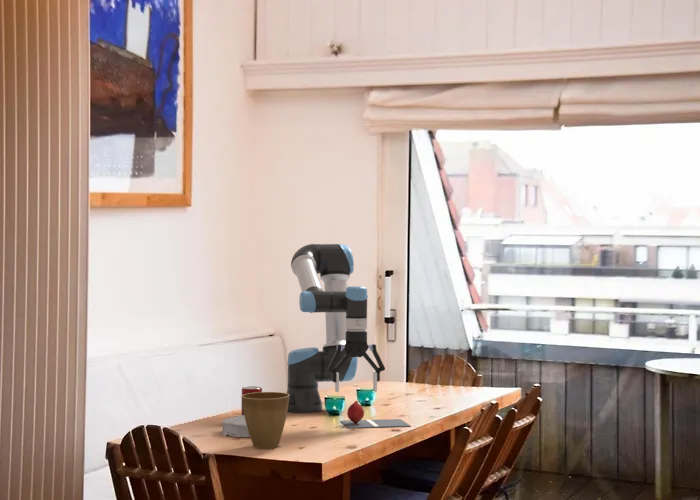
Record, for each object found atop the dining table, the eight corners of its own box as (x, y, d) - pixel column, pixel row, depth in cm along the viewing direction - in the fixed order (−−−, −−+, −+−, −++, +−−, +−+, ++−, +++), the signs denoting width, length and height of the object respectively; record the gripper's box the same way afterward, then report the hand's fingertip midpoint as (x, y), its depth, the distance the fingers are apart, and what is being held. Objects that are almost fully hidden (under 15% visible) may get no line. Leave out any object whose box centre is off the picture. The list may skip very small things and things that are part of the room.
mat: (348, 428, 343) (348, 427, 343) (340, 421, 356) (340, 420, 356) (410, 426, 347) (410, 425, 347) (400, 420, 361) (400, 418, 361)
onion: (351, 425, 347) (351, 402, 346) (344, 422, 352) (344, 399, 352) (366, 424, 349) (366, 401, 349) (360, 421, 354) (360, 399, 354)
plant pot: (268, 440, 320) (269, 390, 320) (298, 447, 309) (299, 395, 309) (231, 446, 310) (231, 394, 310) (260, 453, 299) (261, 399, 299)
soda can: (237, 422, 354) (238, 388, 354) (246, 419, 360) (247, 385, 361) (256, 423, 351) (256, 389, 351) (265, 420, 358) (265, 386, 358)
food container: (213, 430, 340) (213, 410, 340) (270, 426, 346) (270, 406, 346) (227, 442, 321) (226, 420, 321) (286, 437, 328) (286, 416, 328)
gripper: (323, 331, 344) (322, 393, 344) (393, 330, 349) (393, 391, 349) (319, 330, 351) (319, 390, 351) (388, 329, 357) (388, 389, 356)
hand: (356, 391), depth 350 cm, fingers open, 13 cm apart
